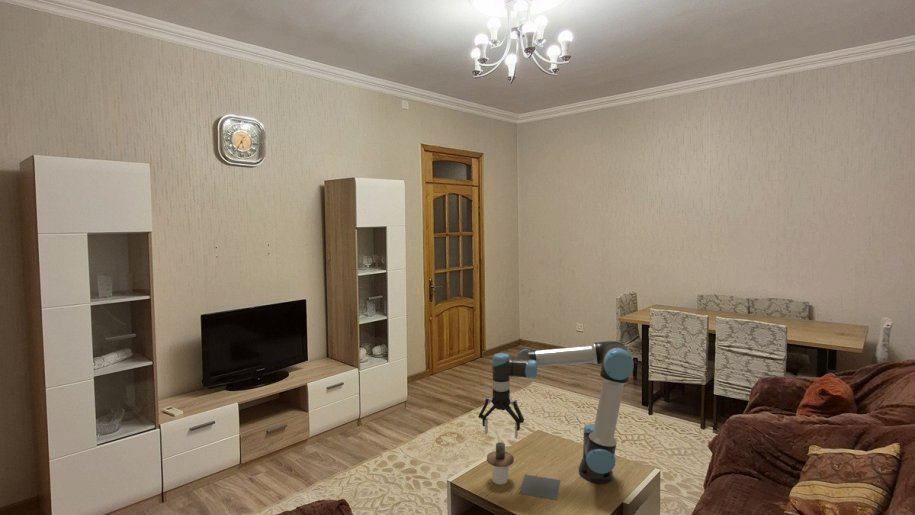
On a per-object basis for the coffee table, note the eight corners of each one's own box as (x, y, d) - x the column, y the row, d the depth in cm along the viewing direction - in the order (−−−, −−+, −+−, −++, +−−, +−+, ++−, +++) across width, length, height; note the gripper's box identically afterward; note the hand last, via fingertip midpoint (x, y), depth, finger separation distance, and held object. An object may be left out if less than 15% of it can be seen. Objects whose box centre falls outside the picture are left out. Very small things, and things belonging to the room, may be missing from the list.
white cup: (488, 483, 219) (488, 461, 218) (495, 474, 226) (495, 454, 225) (504, 487, 216) (505, 466, 215) (511, 479, 223) (511, 458, 222)
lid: (515, 455, 224) (515, 440, 223) (511, 468, 213) (511, 452, 212) (490, 451, 227) (490, 436, 227) (484, 464, 216) (484, 448, 215)
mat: (560, 481, 221) (560, 480, 221) (557, 501, 206) (557, 500, 206) (525, 475, 226) (525, 474, 226) (519, 494, 210) (519, 493, 210)
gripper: (530, 388, 217) (530, 434, 219) (475, 383, 224) (476, 428, 226) (528, 394, 210) (527, 442, 212) (471, 389, 217) (471, 435, 219)
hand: (501, 435), depth 219 cm, fingers open, 13 cm apart
